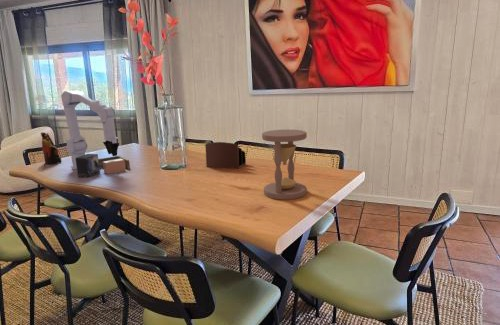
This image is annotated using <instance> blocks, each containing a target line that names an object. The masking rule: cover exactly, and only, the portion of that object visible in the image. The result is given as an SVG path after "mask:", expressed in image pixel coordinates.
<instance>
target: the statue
mask: <svg viewBox="0 0 500 325" xmlns="http://www.w3.org/2000/svg"><path fill="white" fill-rule="evenodd" d="M40 136H41V137H42V138H41V146H42V153H43V157H44V158H43V159H44V163H45V164H47V165H55V164H60V163H62V158H61V157H60V155H59V149H58V147H57V146H56V145H55V144H54V141H53V140H52V138H51V137H50V135H49V133H48V132H43V131H42V132H40Z"/></svg>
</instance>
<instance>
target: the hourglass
mask: <svg viewBox="0 0 500 325" xmlns="http://www.w3.org/2000/svg"><path fill="white" fill-rule="evenodd" d="M307 137H308V135H307V132H306V131H305V130H301V129H300V130H299V129H274V130H273V129H272V130H268V131H264V132H262V134H261V138H262V140H263V141H265V142H272V143H274V144H273V145H272V148H273V150H274V156H273V161H274V164H275V170H274V181H273V182H270V183H269V184H266V185H265V186H263V187H264V188H263V193H264V195H265V196H266V197H267V198H269V199H275V200H281V201H283V200H285V201H286V200H287V201H288V200H295V199H300V198H302V197H305V196H306V194H307V192H308V189H307V185H305V184H304V183H300V182H297V181H296V180H295V163H294V160H293V159H294V155H295V150H296V147H297V145H296V144H294V142H298V141H303V140H306V139H307ZM281 165H282V166H286V167H287V174H288V177H286V176H283V172H282V169H281Z"/></svg>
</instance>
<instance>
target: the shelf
mask: <svg viewBox="0 0 500 325" xmlns="http://www.w3.org/2000/svg"><path fill="white" fill-rule="evenodd" d="M116 159H123V160H124V162H125V169H127V170H130V169H131V165H130V160H129V159H128V158H125V157H123V156H122V155H117V156H108V157H103V158H98V161H99V168H100V167H101V168H103V162H104V161H110V160H116Z"/></svg>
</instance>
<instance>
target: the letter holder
mask: <svg viewBox="0 0 500 325" xmlns="http://www.w3.org/2000/svg"><path fill="white" fill-rule="evenodd" d="M204 145H205V146H204V147H205V163H206V164H205V165H206V167H207V168H221V169H237V170H239V169H241V168H242V167H244V166H245V165H247V163H246V161H247V160H246V152H245V150H243V149H242V148H241V147H239V145H238V144H237V143H234V142H233V143H232V142H223V141H220V142H219V141H216V142H208V143H207V142H206V143H205V144H204Z"/></svg>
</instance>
